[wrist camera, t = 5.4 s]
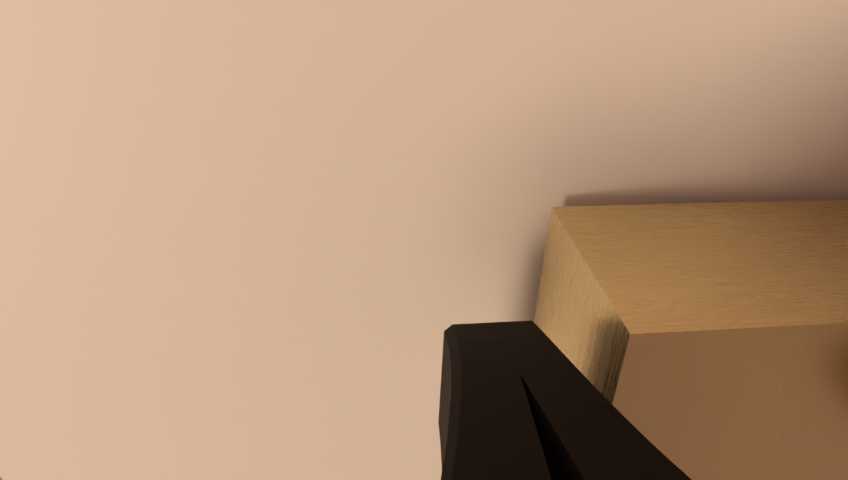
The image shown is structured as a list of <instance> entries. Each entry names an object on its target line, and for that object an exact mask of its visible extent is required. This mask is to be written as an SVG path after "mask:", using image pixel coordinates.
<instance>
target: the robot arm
mask: <svg viewBox="0 0 848 480" xmlns="http://www.w3.org/2000/svg"><path fill="white" fill-rule="evenodd" d="M438 424H439V433H440V445H441V463H442V474H441V480H692V479H691V478H689V477H688V476H687V475H686V474H685V473H684V472H683V471H682V470H680V469H679V468H678V467H677V466H676V465H675V464H674V463H673V462H671V461H670V460H669V459H668V458H667V457H666V456H665V455H664V454H663V453H662V452H661V451H660V450H658V449H657V448H656V447H655V446H654V445H653V444H652V443H651V442H650V441H649V440H648V439H647V438H646V437H645V436H644V435H643V434H642V433H641V432H640V431H639V430H638V429H636V428H635V427H634V426H633V425H632V424H631V423H630V422H629V421H628V420H627V419H626V418H625V417H624V416H623V415H622V414H621V413H620V412H619V411H618V410H617V409H616V408H615V407H614V406H613V405H612V404H611V403H610V402H609V401H608V400H607V399H606V398H605V397H604V396H603V395H602V394H601V393H600V392H599V391H598V390H597V389H596V388H595V387H594V386H593V384H592V383H591V382H590V381H589V380H588V379H587V378H586V377H585V376H584V375H583V374H582V373H581V372H580V371H579V370H578V369H577V368H576V367H575V366H574V364H573V363H572V362H571V361H570V360H569V359H568V358H567V357H566V356H565V355H564V354H563V353H562V352H561V350H560V349H559V348H558V347H557V346H556V345H555V344H554V343H553V342H552V341H551V340H550V339H549V338H548V336H547V335H546V334H545V333H544V332H543V331H542V330H541V329H540V328H539V327H538V326H537V325H536V324H535V323H534V322H533V321H532V320H531V321H511V322H491V323H471V324H452V325H451V326H450V327H449V328H447V329H446V330H445V331H444V339H443V355H442V372H441V388H440V405H439V421H438Z"/></svg>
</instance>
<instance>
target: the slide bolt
mask: <svg viewBox="0 0 848 480" xmlns="http://www.w3.org/2000/svg"><path fill="white" fill-rule="evenodd" d="M534 323H535V324H536V325H537V326H538V327H539V328H540V329H541V330H542V331H543V332H544V333H545V334H546V335H547V336H548V338H549V339H550V340H551V341H552V342H553V343H554V344H555V345H556V346H557V347H558V348H559V349H560V350H561V352H562V353H563V354H564V355H565V356H566V357H567V358H568V359H569V360H570V361H571V362H572V363H573V364H574V366H575V367H576V368H577V369H578V370H579V371H580V372H581V373H582V374H583V375H584V376H585V377H586V378H587V379H588V380H589V381H590V382H591V383H592V384H593V386H594V387H595V388H596V389H597V390H598V391H599V392H600V393H601V394H602V395H603V396H604V397H605V398H606V399H607V400H608V401H609V402H610V403H611V404H612V405H613V406H614V407H615V408H616V409H617V410H618V411H619V412H620V413H621V414H622V415H623V416H624V417H625V418H626V419H627V420H628V421H629V422H630V423H631V424H632V425H633V426H634V427H635V428H636V429H638V430H639V431H640V432H641V433H642V434H643V435H644V436H645V437H646V438H647V439H648V440H649V441H650V442H651V443H652V444H653V445H654V446H655V447H656V448H657V449H658V450H660V451H661V452H662V453H663V454H664V455H665V456H666V457H667V458H668V459H669V460H670V461H671V462H673V463H674V464H675V465H676V466H677V467H678V468H679V469H680V470H682V471H683V472H684V473H685V474H686V475H687V476H688V477H689V478H691V479H692V480H848V199H835V200H796V201H758V202H719V203H681V204H643V205H604V206H566V207H551V213H550V219H549V226H548V232H547V239H546V245H545V252H544V258H543V265H542V271H541V278H540V284H539V290H538V297H537V303H536V310H535V316H534Z"/></svg>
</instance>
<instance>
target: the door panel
mask: <svg viewBox="0 0 848 480" xmlns="http://www.w3.org/2000/svg"><path fill="white" fill-rule="evenodd" d="M835 199H848V0H0V476H1V478H2V480H441V474H442V463H441V445H440V433H439V424H438V421H439V405H440V388H441V372H442V355H443V339H444V331H445V330H446V329H447V328H449V327H450V326H451V325H452V324H471V323H491V322H511V321H531V320H532V321H533V322H534V316H535V310H536V303H537V297H538V290H539V284H540V278H541V271H542V265H543V258H544V252H545V245H546V239H547V232H548V226H549V219H550V213H551V207H566V206H604V205H643V204H681V203H719V202H758V201H796V200H835Z"/></svg>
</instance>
